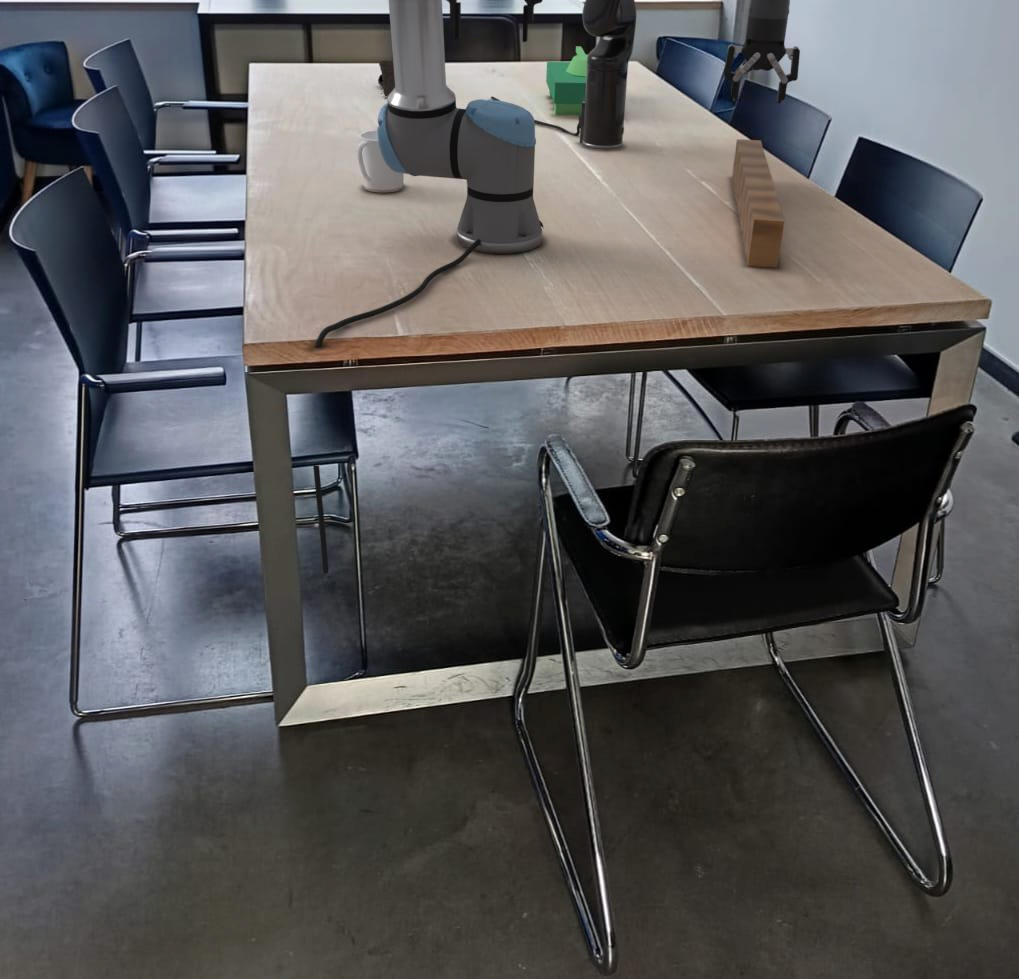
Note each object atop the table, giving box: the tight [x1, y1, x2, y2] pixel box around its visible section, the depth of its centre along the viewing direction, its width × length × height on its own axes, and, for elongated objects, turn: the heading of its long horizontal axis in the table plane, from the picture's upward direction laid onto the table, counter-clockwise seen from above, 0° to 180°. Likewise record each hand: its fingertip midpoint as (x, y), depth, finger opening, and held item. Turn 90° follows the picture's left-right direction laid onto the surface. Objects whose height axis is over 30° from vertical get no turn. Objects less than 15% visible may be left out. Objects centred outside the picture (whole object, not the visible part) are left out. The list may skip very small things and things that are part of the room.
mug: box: [356, 129, 405, 194], centre depth 219 cm, size 11×9×10 cm
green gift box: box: [545, 45, 588, 116], centre depth 289 cm, size 18×12×35 cm
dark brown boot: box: [377, 59, 395, 98], centre depth 299 cm, size 18×8×15 cm
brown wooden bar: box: [731, 138, 785, 269], centre depth 208 cm, size 55×5×8 cm, turn 173°
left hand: (491, 39), depth 221 cm, fingers open, 13 cm apart
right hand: (756, 101), depth 219 cm, fingers open, 8 cm apart
